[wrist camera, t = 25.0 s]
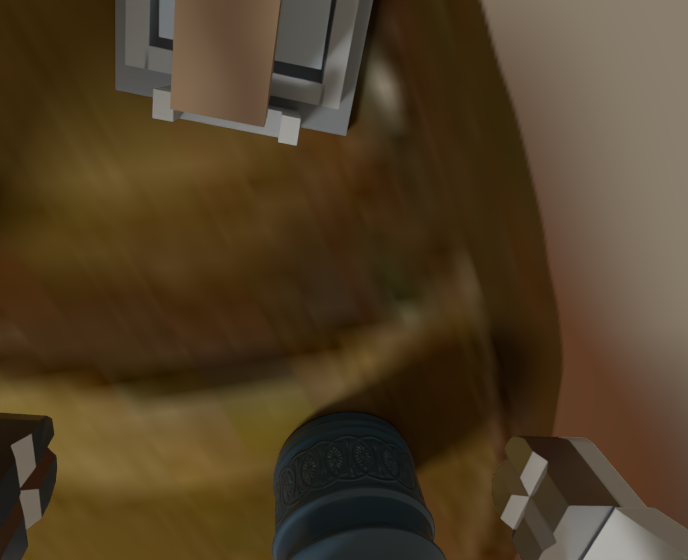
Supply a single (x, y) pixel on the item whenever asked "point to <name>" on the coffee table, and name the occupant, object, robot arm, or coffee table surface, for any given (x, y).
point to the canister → (350, 494)
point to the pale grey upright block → (281, 30)
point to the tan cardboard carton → (224, 58)
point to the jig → (287, 80)
